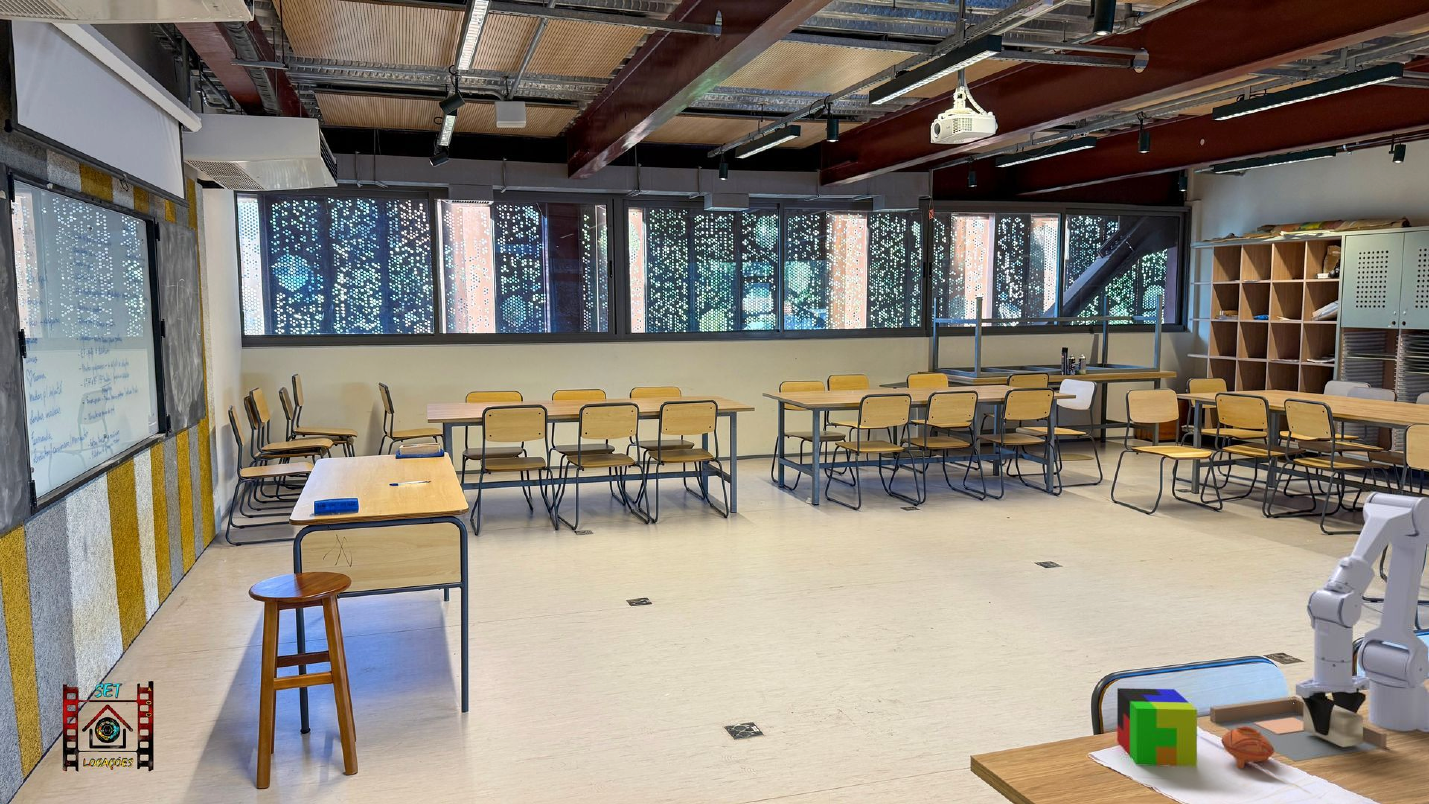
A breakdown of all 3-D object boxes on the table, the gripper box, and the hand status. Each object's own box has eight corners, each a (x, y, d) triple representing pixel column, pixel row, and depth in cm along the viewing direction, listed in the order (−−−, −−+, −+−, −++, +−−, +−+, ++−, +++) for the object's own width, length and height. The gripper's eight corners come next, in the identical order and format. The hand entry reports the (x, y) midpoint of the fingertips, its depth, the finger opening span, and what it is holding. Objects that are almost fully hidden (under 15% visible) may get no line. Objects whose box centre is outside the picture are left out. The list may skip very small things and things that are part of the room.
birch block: (1322, 726, 171) (1322, 700, 171) (1362, 743, 164) (1363, 716, 163) (1303, 729, 170) (1303, 702, 170) (1342, 747, 163) (1343, 719, 162)
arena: (1294, 712, 183) (1294, 696, 183) (1386, 751, 164) (1386, 733, 164) (1210, 724, 178) (1210, 707, 178) (1294, 765, 159) (1295, 746, 159)
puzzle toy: (1173, 743, 170) (1174, 689, 169) (1196, 766, 160) (1197, 709, 159) (1117, 741, 171) (1117, 688, 170) (1136, 765, 161) (1136, 708, 160)
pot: (1207, 756, 163) (1214, 717, 164) (1243, 761, 165) (1249, 723, 165) (1244, 773, 155) (1251, 733, 156) (1281, 779, 157) (1288, 739, 158)
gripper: (1320, 668, 161) (1319, 745, 161) (1386, 660, 164) (1385, 735, 165) (1285, 656, 167) (1285, 729, 168) (1349, 648, 171) (1348, 720, 172)
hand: (1332, 731), depth 167 cm, fingers closed on birch block, 4 cm apart
